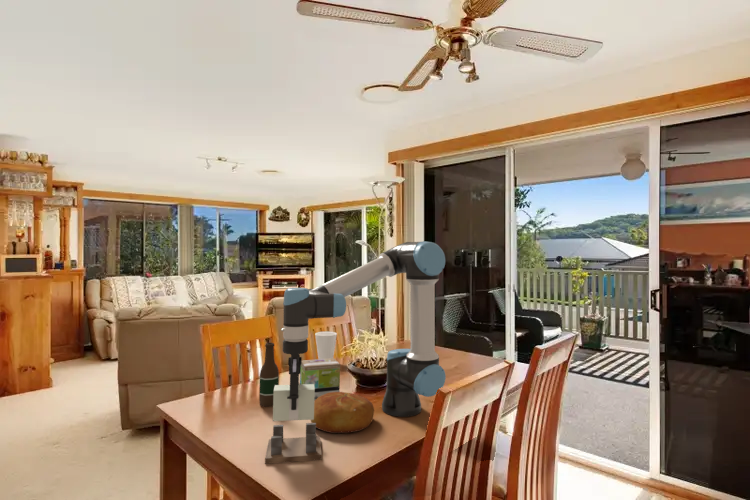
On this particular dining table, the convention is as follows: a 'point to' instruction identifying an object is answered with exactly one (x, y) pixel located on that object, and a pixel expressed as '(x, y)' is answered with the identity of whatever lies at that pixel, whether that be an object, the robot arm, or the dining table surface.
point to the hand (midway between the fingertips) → (293, 415)
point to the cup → (325, 344)
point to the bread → (342, 412)
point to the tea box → (321, 375)
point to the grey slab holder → (293, 446)
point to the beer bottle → (268, 377)
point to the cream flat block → (282, 403)
